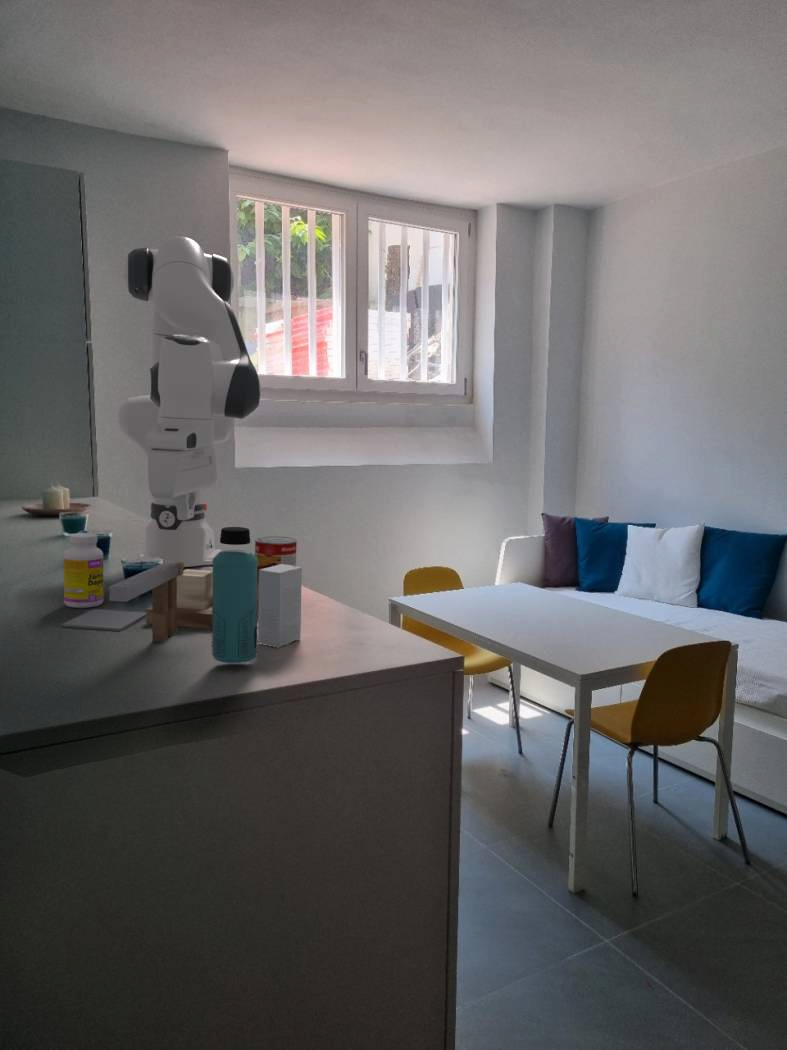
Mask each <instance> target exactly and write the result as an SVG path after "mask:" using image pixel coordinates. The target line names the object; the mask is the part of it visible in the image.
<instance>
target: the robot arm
mask: <svg viewBox="0 0 787 1050" xmlns="http://www.w3.org/2000/svg"><path fill="white" fill-rule="evenodd" d="M127 255H128V256H127V258H126V259H125V262H124V265H123V280H124V283H125V285H126V287H127V290H128V293H129V294H130V295H131V296H132V297H133V298H135V299H137V300H140V301H143V302H148V301H151V302H153V305H154V309H153V317H152V318H153V319H152V367H150V368H149V373H150V395H149V394H146V395H138V396H132V397H128V398H127V399H125V400H124V402H123V403H122V404H121V406H120V407H119V411H118V413H117V421H118V426H119V428H120V430H121V432H122V434H123V435H124V436H125V437H126V438H127V439H128V440H129V441H130V442H132V443H133V444H134V445H135V446H136V447H137V448H139V450H140V451H141V452H142V454H143V455H144V456H145V459H146V461H147V476H148V478H147V479H148V489H149V493H150V495H151V497H152V502H151V503H150V509H149V511H150V518H151V521H150V522H149V523H148V524H147V525H146V527H145V531H144V533H145V534H144V543H143V554H140V555H138V557H139V556H140V557H151V558H154V557H160V558H162V559H163V562H165V561H172V562H183V568H188V567H199V566H211V565H212V566H213V563H212V560H213V558H214V557H215V556H216V555H217V554H218V553H219V552H221V551H223V550H222V549H219V548H218V549H217V548H215V532H214V531H213V529H212V528H211V527H210V525H209V524H208V523H207V521H206V519H205V517H206V514H205V512H207V510H208V504H207V503H206V502H202V490H205V489H209V488H212V487H214V486H215V485H216V483H217V479H218V476H217V475H218V472H217V471H218V470H217V455H216V448H215V447H214V445H215V444H221V443H225V442H226V441H227V440H228V439H229V438H230V437H231V436H232V434H233V431H234V429H235V419H240V420H241V419H244V418H246V417H248V416H249V415H250V414H252V413H253V412H254V411H255V410H256V409H257V408H259V406H260V400H261V395H262V394H261V391H262V389H261V380H260V378H259V375H258V371H257V368H256V367H255V366H254V363H253V362H252V359H251V357H250V355H249V353H248V349H247V346H246V342H245V340H244V337H243V334H242V330H241V327H240V325H239V322H238V320H237V317H236V314H235V312H234V310H233V308H232V306H231V305H230V304H229V303H228V301H229V300H230V298H231V296H232V293H233V291H234V286H235V275H234V272H233V269H232V268H231V263H230V262H229V260H228V258H226V257H223V256H221V255H218V254H214V253H211V254H207V253H204V250H203V249H202V247H201V245H199V244H198V243H197V242H196V241H195V240H193V239H191V238H188V237H186V236H172V237H169V238H167V239H166V240H163V242H162V243H161V244H160V245H159V247H158V248H148V247H139V248H134V249H132V250H131V251H130V252H129V253H127ZM209 340H211V341H213V342H215V344H217V345H218V346H219V349H220V351H221V356H222V359H223V360H222V359H221V360H220V359H213V350H212V344H211V341H209Z"/></svg>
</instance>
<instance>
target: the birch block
mask: <svg viewBox="0 0 787 1050" xmlns="http://www.w3.org/2000/svg"><path fill="white" fill-rule="evenodd" d="M212 595H213V570H205V569H204V570H203V569H192V568H191V569H188V568H187V569H183V575H181V576H177V608H189V609H203V610H207V609H208V608H210V607H211V606H212V605H211V604H212V599H211V598H213V596H212Z"/></svg>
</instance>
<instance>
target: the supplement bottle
mask: <svg viewBox="0 0 787 1050" xmlns="http://www.w3.org/2000/svg"><path fill="white" fill-rule="evenodd" d="M68 536H69V544H70V546H69V548H67V549H66V550H65V551H64V552H63V602H64V605H65V606H67V607H68V608H76V609H88V608H94V607H95V608H96V607H98V606H100V605H102V604H103V602H104V552H103V551H102V549H101V548H99V547H97V543H98V534H96V533H91V532H90V533H89V532H79V533H72V534H69V535H68Z"/></svg>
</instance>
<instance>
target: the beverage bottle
mask: <svg viewBox="0 0 787 1050" xmlns="http://www.w3.org/2000/svg"><path fill="white" fill-rule="evenodd" d="M219 537H220V538H219V543H220V544H222V545H229V546H230V545H231V546H236V545H237V546H241V545H247V544H248V545H249V544H251V535H250V529H249V528H247V527H242V526H228V527H223V528H221V530H220V536H219ZM212 563H213V565H212V571H213V595H212V596H213V598H211V599H212V604H211V605H212V607H211V608H212V615H211V616H212V618H211V619H212V629H211V635H210V636H211V637H210V638H211V645H210V646H211V654H212V656H213V657H212V658H213V660H215V661H217V662H221V663H226V664H239V663H245V662H250V661H252V660H254V659H256V657H257V654H258V647H259V646H258V645H259V643H258V617H259V603H258V600H259V599H258V595H259V594H258V593H257V592H258V591H257V590H258V589H257V564H258V559H257V558H256V557H255V554H253V552H251V551H250V550H246V549H225V550H223V551H221V552H219V553H218V554H217V555H216V556H215V557H214V558H213V560H212Z"/></svg>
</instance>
